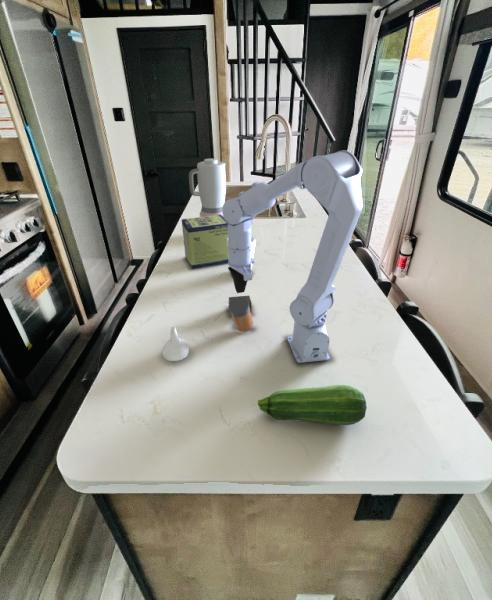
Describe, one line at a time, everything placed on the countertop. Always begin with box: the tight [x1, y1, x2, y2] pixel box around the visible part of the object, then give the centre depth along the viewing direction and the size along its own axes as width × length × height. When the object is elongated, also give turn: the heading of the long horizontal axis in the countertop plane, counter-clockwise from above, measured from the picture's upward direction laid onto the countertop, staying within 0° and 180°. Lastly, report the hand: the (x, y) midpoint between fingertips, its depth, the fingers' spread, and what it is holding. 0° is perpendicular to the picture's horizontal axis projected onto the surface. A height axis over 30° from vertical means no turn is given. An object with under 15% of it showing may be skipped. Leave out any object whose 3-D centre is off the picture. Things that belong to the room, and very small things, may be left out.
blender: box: [188, 158, 227, 217], centre depth 133 cm, size 16×12×32 cm
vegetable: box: [257, 384, 368, 426], centre depth 60 cm, size 7×7×20 cm
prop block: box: [228, 295, 253, 316], centre depth 91 cm, size 4×6×4 cm, turn 98°
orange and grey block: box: [228, 297, 254, 333], centre depth 82 cm, size 9×5×10 cm
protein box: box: [181, 214, 229, 270], centre depth 118 cm, size 10×16×16 cm
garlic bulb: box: [161, 325, 190, 362], centre depth 75 cm, size 6×6×8 cm
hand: (240, 291), depth 88 cm, fingers closed
